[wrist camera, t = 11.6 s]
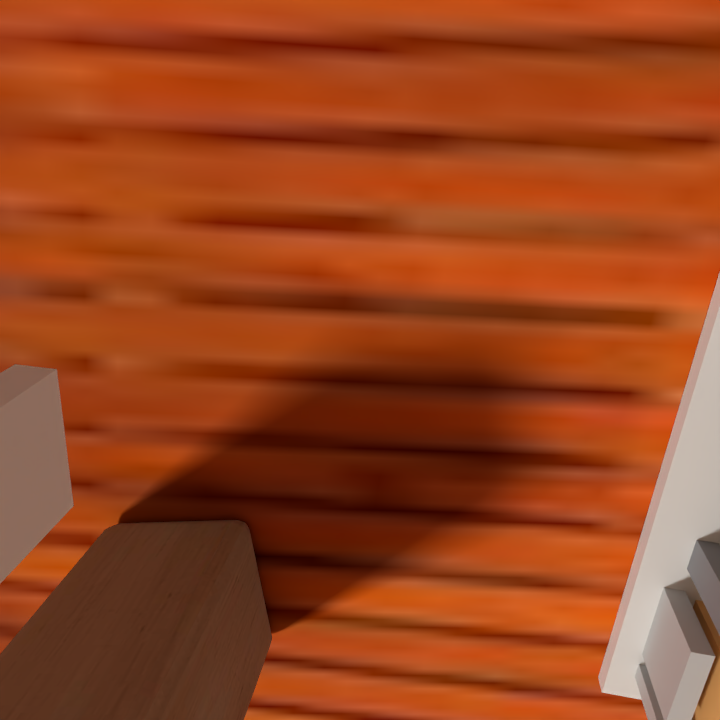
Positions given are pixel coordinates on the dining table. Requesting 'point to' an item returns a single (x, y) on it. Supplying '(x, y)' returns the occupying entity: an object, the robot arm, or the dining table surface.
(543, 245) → the dining table surface
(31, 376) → the robot arm
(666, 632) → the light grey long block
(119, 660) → the wooden block
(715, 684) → the rod with end blocks
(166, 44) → the dining table surface
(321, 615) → the dining table surface
